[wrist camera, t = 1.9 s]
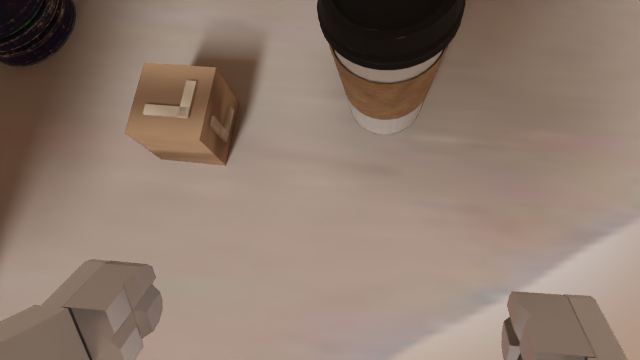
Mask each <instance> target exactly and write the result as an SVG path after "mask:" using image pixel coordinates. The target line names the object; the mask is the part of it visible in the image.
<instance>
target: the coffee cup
mask: <svg viewBox="0 0 640 360" xmlns="http://www.w3.org/2000/svg"><path fill="white" fill-rule="evenodd" d="M464 7H465V0H318V2H317V12H318V19H319V22H320V27H321V29H322V32H323V34H324V37H325V38H326V40H327V41H328V43H329V45H330V49H331V52H332V55H333V57H334V60H335V63H336V66H337V69H338V72H339V75H340V78H341V81H342V84H343V86H344V89H345V92H346V95H347V97H348V101H349V104H350V108H351V111H352V113H353V116H354V118H355V119H356V121H357V122H358V123H359V124H360V125H361V126H362V127H363V128H365V129H366V130H368V131H371V132H373V133H377V134H393V133H397V132H400V131H402V130H404V129H405V128H407V127H408V126H409V125H410V124H412V123H413V121H414V120H415V119H416V117H417V115H418V113H419V111H420V108H421V106H422V103H423V101H424V98H425V96H426V94H427V92H428V90H429V88H430V85H431V83H432V81H433V79H434V76H435V74H436V72H437V70H438V67H439V65H440V63H441V61H442V58H443V56H444V54H445V52H446V49H447V47H448V44H449V43H450V41H451V40H452V39H453V38H454V36H455V34H456V32H457V30H458V28H459V26H460V23H461V19H462V16H463V12H464Z"/></svg>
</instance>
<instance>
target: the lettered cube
mask: <svg viewBox="0 0 640 360" xmlns="http://www.w3.org/2000/svg"><path fill="white" fill-rule="evenodd" d="M238 105H239V102H238V100H237V99H236V97H235V96H234V94H233V93H232V91H231V90H230V88H229V86H228V85H227V83H226V82H225V80H224V79H223V77H222V76H221V74H220V73H219V71H218V70H217V68H216V67H202V66H186V65H170V64H154V63H144V65H143V69H142V72H141V76H140V80H139V83H138V87H137V90H136V94H135V97H134V101H133V104H132V108H131V112H130V115H129V119H128V122H127V126H126V129H125V134H126V135H128V136H129V137H131V138H132V139H133V140H135V141H136V142H138V143H139V144H141V145H142V146H143V147H145V148H146V149H148V150H149V151H150V152H152V153H153V154H155V155H156V156H157V157H159V158H160V159H165V160H175V161H185V162H195V163H205V164H215V165H225V166H226V162H227V157H228V152H229V148H230V143H231V138H232V133H233V128H234V124H235V119H236V114H237V109H238Z"/></svg>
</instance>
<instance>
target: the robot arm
mask: <svg viewBox="0 0 640 360" xmlns="http://www.w3.org/2000/svg"><path fill="white" fill-rule="evenodd" d="M155 278H156V276H155V273H154V271H153V268H152V266H149V265H147V264H139V263H129V262H119V261H105V260H95V259H91V260H88V261H85V262H84V263H83V264H82V265H81V266H80V267H79V268H78V269H77V270H76V271H75V272H74V273H73V274H72V275H71V276H70V277H69V278H68V279H67V280H66V281H65V282H64V283H63V284H62V285H61V286H60V287H59V288H58V289H57V290H56V291H55V292H54V293H53V294H52V295H51V296H50V297H49V298H48V299H47V300H46V301H45V302H44V303H43V304H42V305H41V306H40V305H34V306H32V307H30V308H28V309H26V310H24V311H22V312H20V313H17V314H15V315H13V316H11V317H9V318H7V319H5V320H3V321H1V322H0V360H135V359H136V357H137V356H138V354H139V352H140V351H141V349H142V348H143V341H142V338H143V337H145V336H147V335H148V334H150V333H151V332H153V331H154V329H155V327H156V326H157V324H158V322H159V320H160V316H161V312H162V297H161V294H160V291H158V290H157V289H156V288H155V287H154V286H153V285H152V284H153V282H154V280H155ZM507 307H508V311H509V314H510V317H509V318H508V319H506V320H505V321H504V323H503V330H502V353H503V359H504V360H628V359H627V357H626V355H625V353H624V351H623V349H622V348H621V346H620V344H619V342H618V340H617V338H616V337H615V335H614V333H613V331H612V329H611V328H610V326H609V324H608V322H607V320H606V318H605V317H604V315H603V313H602V311H601V310H600V308H599V306H598V304H597V302H596V300H595V299H594V298H592V297H591V296H582V295H565V294H564V295H557V294H543V293H528V292H513V291H512V292H511V294H510V296H509V299H508V304H507Z"/></svg>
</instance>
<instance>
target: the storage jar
mask: <svg viewBox="0 0 640 360" xmlns="http://www.w3.org/2000/svg"><path fill="white" fill-rule="evenodd" d="M75 18H76V11H75V6H74V3H73V1H72V0H0V62H2V63H4V64H7V65H10V66H16V67H19V66H29V65H33V64H36V63H39V62H41V61H43V60H45V59H47V58H48V57H50V56H52V55H53V54H54V53H55V52H57V51H58V50H59V49H60V48H61V47H62V46H63V44H64V43H65V42H66V41H67V39H68V38H69V36H70V34H71V32H72V30H73V27H74V24H75Z"/></svg>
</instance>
